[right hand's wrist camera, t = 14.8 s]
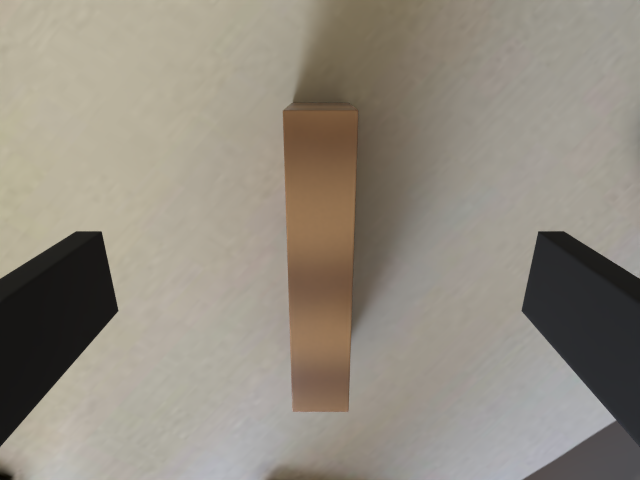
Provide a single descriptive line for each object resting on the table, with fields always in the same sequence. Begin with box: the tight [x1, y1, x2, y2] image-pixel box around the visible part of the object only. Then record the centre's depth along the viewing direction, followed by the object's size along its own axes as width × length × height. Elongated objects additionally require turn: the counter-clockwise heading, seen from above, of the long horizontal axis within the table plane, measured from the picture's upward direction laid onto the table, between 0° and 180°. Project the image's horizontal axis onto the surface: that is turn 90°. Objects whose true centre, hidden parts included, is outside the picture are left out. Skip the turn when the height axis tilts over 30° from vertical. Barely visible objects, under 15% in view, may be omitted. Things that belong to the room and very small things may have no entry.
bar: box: [283, 103, 358, 412], centre depth 34 cm, size 25×5×9 cm, turn 0°
